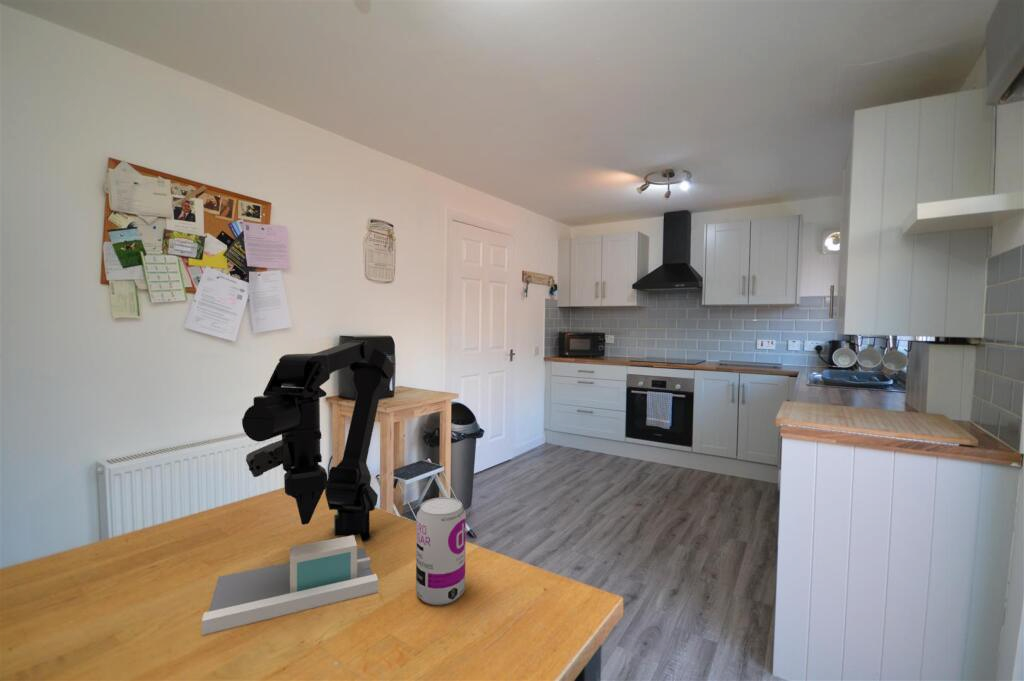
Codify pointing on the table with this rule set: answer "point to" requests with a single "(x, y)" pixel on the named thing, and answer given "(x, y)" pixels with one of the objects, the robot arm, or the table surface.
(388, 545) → the table surface
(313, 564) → the carton
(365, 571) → the shelf board
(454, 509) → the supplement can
